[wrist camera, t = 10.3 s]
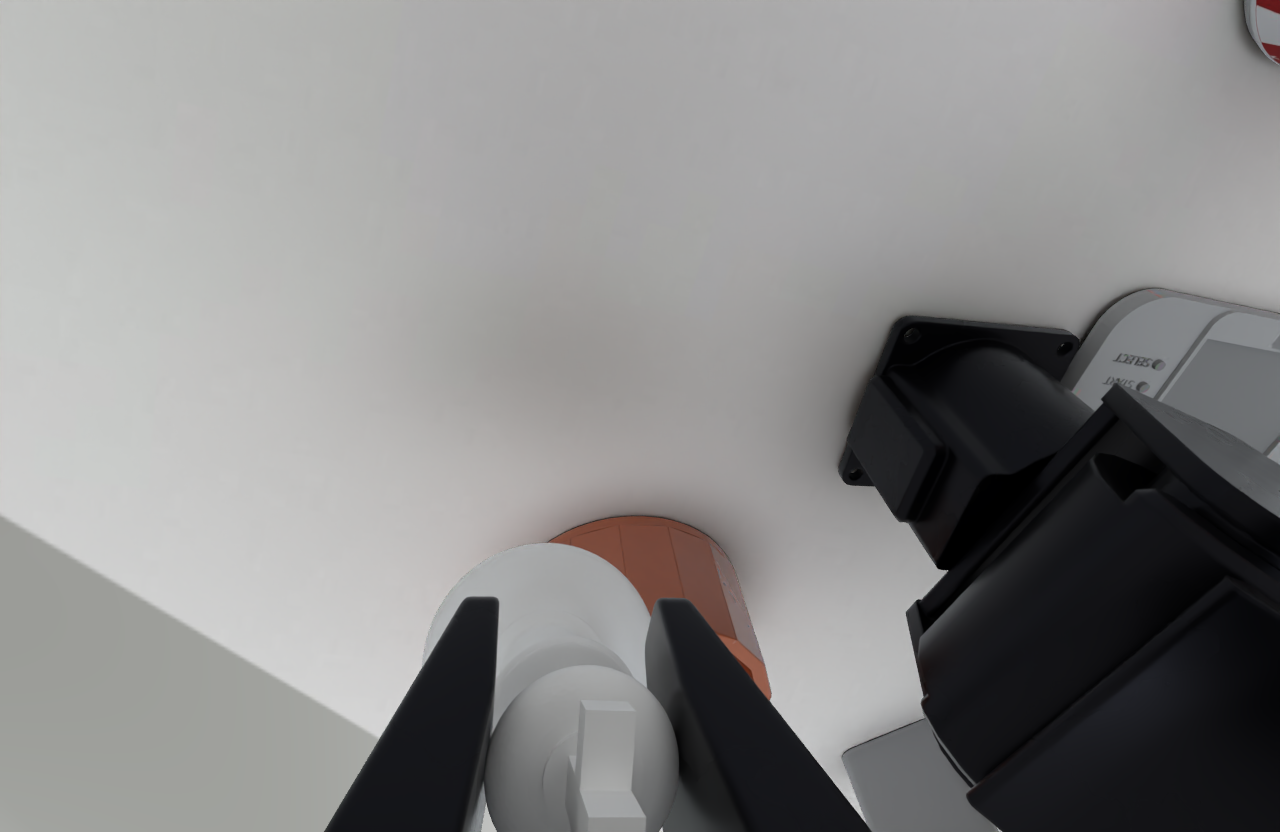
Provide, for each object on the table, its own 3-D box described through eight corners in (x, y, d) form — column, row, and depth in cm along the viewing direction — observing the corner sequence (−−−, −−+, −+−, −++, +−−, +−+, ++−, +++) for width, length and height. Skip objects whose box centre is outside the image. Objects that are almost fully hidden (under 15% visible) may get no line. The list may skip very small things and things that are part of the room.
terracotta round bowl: (759, 518, 26) (801, 625, 22) (709, 671, 31) (736, 782, 27) (516, 511, 24) (512, 625, 20) (503, 673, 29) (498, 792, 25)
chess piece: (408, 786, 14) (184, 1304, 4) (438, 535, 15) (316, 490, 5) (649, 788, 15) (928, 1222, 5) (662, 550, 16) (912, 535, 6)
